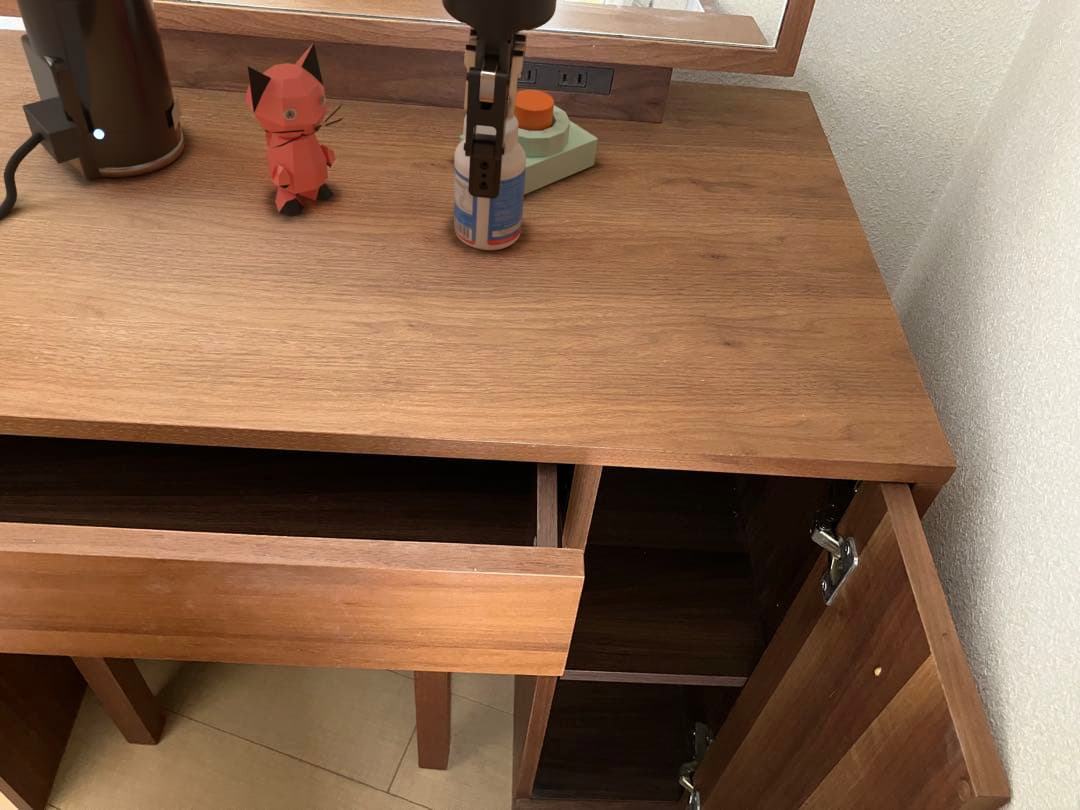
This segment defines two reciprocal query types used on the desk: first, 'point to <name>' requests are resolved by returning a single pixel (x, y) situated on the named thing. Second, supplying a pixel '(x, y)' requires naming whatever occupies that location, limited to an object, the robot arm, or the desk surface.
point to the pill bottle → (485, 217)
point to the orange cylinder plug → (534, 110)
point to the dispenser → (555, 151)
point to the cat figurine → (293, 129)
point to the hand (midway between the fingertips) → (489, 163)
